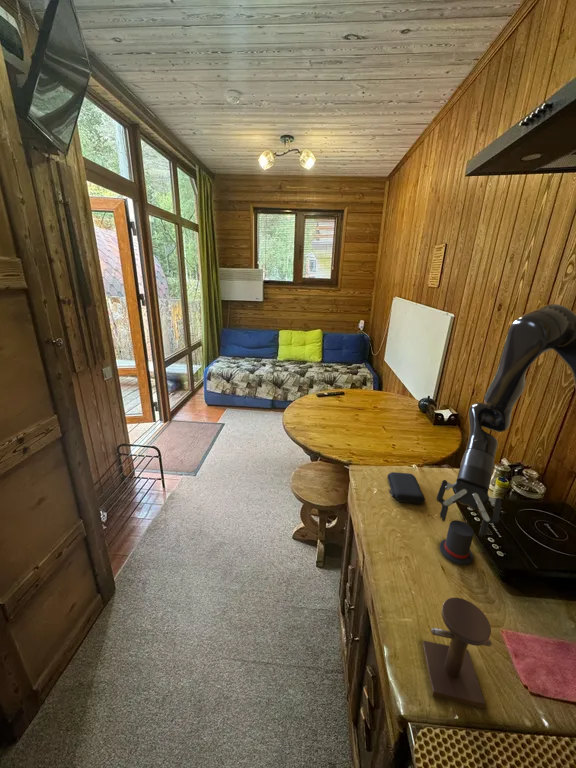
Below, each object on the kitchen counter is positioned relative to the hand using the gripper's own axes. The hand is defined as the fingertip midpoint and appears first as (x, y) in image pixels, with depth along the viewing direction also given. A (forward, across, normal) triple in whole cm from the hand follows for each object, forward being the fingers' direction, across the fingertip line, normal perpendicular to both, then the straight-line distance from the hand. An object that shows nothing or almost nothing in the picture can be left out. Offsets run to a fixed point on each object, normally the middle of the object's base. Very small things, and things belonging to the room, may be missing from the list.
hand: (461, 528), depth 79 cm
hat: (+6, 0, +4) cm, 7 cm away
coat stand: (+27, +4, -17) cm, 32 cm away
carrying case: (-6, -19, +16) cm, 26 cm away
